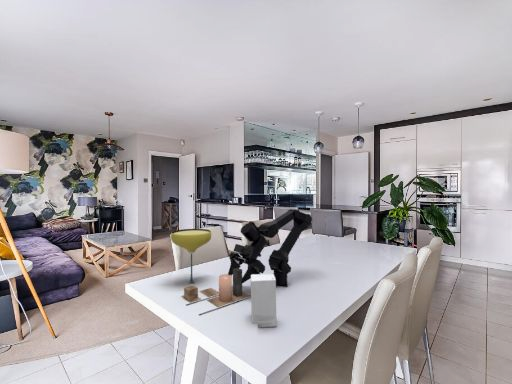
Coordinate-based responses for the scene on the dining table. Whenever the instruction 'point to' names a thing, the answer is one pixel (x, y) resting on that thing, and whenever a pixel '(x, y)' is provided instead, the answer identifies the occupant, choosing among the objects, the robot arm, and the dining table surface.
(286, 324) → the dining table surface
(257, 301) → the skincare box
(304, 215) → the robot arm
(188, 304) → the lane rails
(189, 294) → the walnut cube
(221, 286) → the terracotta cylinder
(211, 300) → the tan wooden baseplate
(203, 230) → the cocktail glass
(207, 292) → the broken strip
